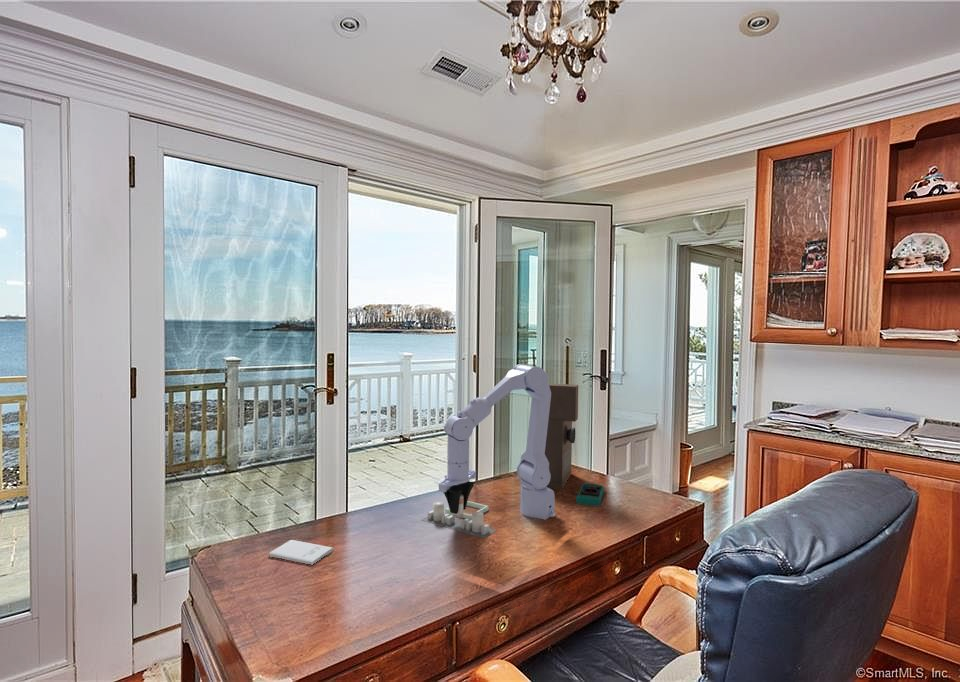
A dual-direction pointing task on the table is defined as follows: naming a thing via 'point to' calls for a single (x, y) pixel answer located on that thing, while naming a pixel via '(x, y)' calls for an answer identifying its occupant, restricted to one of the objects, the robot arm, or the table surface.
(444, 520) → the fuse board
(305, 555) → the external hard drive
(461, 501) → the cylinder
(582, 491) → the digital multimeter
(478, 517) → the cylinder
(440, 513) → the white glossy rounded part
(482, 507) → the tray
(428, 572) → the table surface
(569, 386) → the tall box with knob
